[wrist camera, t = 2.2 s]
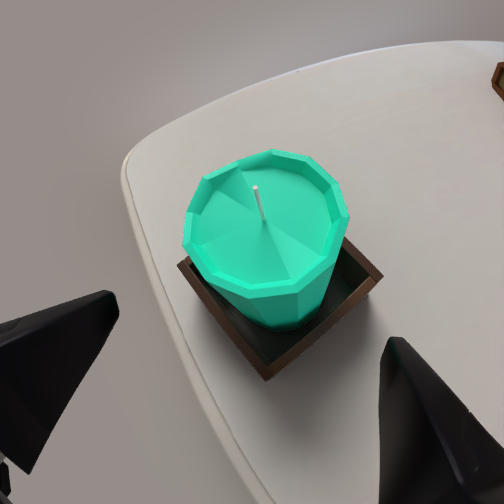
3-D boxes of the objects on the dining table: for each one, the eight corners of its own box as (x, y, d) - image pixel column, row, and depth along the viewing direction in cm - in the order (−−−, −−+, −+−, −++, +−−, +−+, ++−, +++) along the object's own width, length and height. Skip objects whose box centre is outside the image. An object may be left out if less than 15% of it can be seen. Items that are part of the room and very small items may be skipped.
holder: (272, 378, 17) (265, 382, 14) (197, 283, 21) (176, 264, 17) (368, 293, 18) (384, 275, 15) (287, 211, 22) (283, 180, 18)
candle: (328, 252, 20) (351, 125, 9) (320, 337, 18) (353, 296, 7) (246, 245, 21) (191, 123, 10) (231, 326, 19) (140, 271, 8)
